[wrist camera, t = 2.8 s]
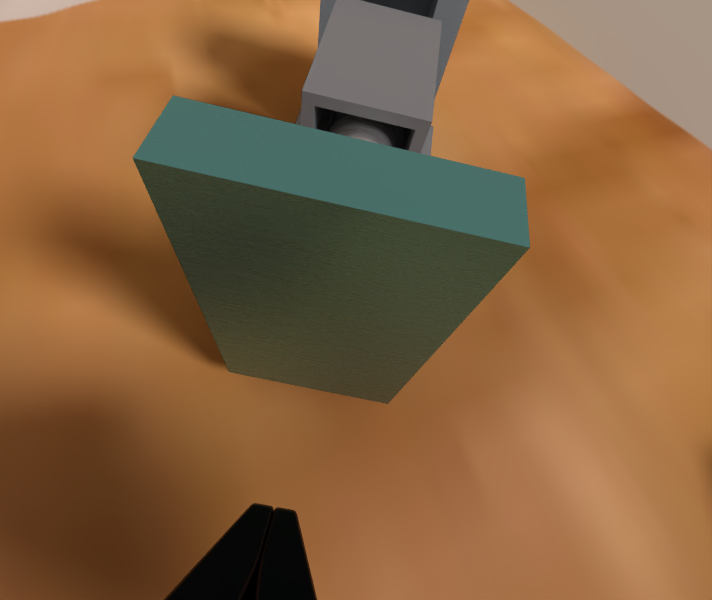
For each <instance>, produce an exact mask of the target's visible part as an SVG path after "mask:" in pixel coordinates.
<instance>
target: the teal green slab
mask: <svg viewBox="0 0 712 600" xmlns="http://www.w3.org/2000/svg"><path fill="white" fill-rule="evenodd" d="M397 131H398V126H397V125H393V124H388V123H384V122H380V121H376V120H372V119H367V118H363V117H359V116H355V115H351V114H346V113H342V112H338V111H335V112H334V116H333V119H332V122H331V126H330V129H329V132H327V131H322V130H318V129H314V128H310V127H305V126H301V125H297V124H293V123H288V122H284V121H280V120H276V119H271V118H267V117H263V116H259V115H254V114H250V113H246V112H242V111H237V110H233V109H229V108H225V107H220V106H216V105H212V104H208V103H203V102H199V101H195V100H190V99H186V98H182V97H178V96H172V98H171V99H170V101H169V102H168V104H167V106H166V107H165V109H164V110H163V112H162V113H161V115H160V116H159V118H158V119H157V121H156V123H155V124H154V126H153V127H152V129H151V130H150V132H149V133H148V135H147V137H146V138H145V140H144V141H143V143H142V144H141V146H140V147H139V149H138V151H137V152H136V154H135V155H134V157H133V160H134V162H135V164H136V166H137V169H138V171H139V173H140V175H141V178H142V180H143V182H144V184H145V186H146V189H147V191H148V193H149V195H150V198H151V200H152V202H153V204H154V206H155V209H156V211H157V213H158V215H159V218H160V220H161V222H162V224H163V226H164V229H165V231H166V233H167V235H168V237H169V240H170V242H171V244H172V246H173V249H174V251H175V253H176V255H177V257H178V260H179V262H180V264H181V266H182V269H183V271H184V273H185V275H186V277H187V280H188V282H189V284H190V286H191V289H192V291H193V293H194V295H195V297H196V300H197V302H198V304H199V306H200V308H201V311H202V313H203V315H204V317H205V320H206V322H207V324H208V326H209V328H210V331H211V333H212V335H213V337H214V340H215V342H216V344H217V346H218V348H219V351H220V353H221V355H222V357H223V360H224V362H225V364H226V366H227V368H228V371H229V372H232V373H237V374H242V375H247V376H252V377H257V378H262V379H267V380H272V381H277V382H282V383H287V384H292V385H297V386H302V387H307V388H312V389H317V390H322V391H326V392H331V393H336V394H341V395H346V396H351V397H356V398H361V399H366V400H371V401H376V402H381V403H386V404H388V403H389V402H390V401H391V400H392V399H393V398H394V396H395V395H396V394H397V393H398V392H399V391H400V390H401V389H402V388H403V387H404V385H405V384H406V383H407V382H408V381H409V380H410V379H411V378H412V377H413V376H414V374H415V373H416V372H417V371H418V370H419V369H420V368H421V367H422V366H423V365H424V363H425V362H426V361H427V360H428V359H429V358H430V357H431V356H432V355H433V354H434V352H435V351H436V350H437V349H438V348H439V347H440V346H441V345H442V344H443V343H444V342H445V340H446V339H447V338H448V337H449V336H450V335H451V334H452V333H453V332H454V331H455V329H456V328H457V327H458V326H459V325H460V324H461V323H462V322H463V321H464V320H465V318H466V317H467V316H468V315H469V314H470V313H471V312H472V311H473V310H474V309H475V307H476V306H477V305H478V304H479V303H480V302H481V301H482V300H483V299H484V298H485V296H486V295H487V294H488V293H489V292H490V291H491V290H492V289H493V288H494V287H495V285H496V284H497V283H498V282H499V281H500V280H501V279H502V278H503V277H504V276H505V275H506V273H507V272H508V271H509V270H510V269H511V268H512V267H513V266H514V265H515V264H516V262H517V261H518V260H519V259H520V258H521V257H522V256H523V255H524V254H525V253H526V251H527V250H528V249H529V248H530V242H529V228H528V215H527V202H526V189H525V178H523V177H518V176H514V175H510V174H506V173H501V172H497V171H493V170H489V169H484V168H480V167H476V166H471V165H467V164H463V163H459V162H454V161H450V160H446V159H442V158H437V157H433V156H429V155H425V154H420V153H416V152H412V151H408V150H403V149H399V148H395V143H396V137H397Z"/></svg>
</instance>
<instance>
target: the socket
mask: <svg viewBox="0 0 712 600" xmlns="http://www.w3.org/2000/svg"><path fill="white" fill-rule="evenodd" d="M361 1H365V2H369V3H373V4H377V5H381V6H385V7H389V8H393V9H397V10H401V11H405V12H409V13H413V14H417V15H421V16H425V17H428V18H432V19H436V20H440V21H442V27H441V37H440V47H439V57H438V67H437V77H436V87H435V96H436V93H437V91H438V88H439V85H440V82H441V79H442V76H443V73H444V71H445V68H446V65H447V62H448V59H449V56H450V53H451V50H452V48H453V45H454V42H455V39H456V36H457V33H458V30H459V28H460V25H461V22H462V19H463V16H464V13H465V10H466V7H467V5H468V2H469V0H361ZM335 2H336V0H321V3H320V21H319V38H318V47H319V44H320V42H321V39H322V36H323V34H324V31H325V28H326V26H327V23H328V21H329V18H330V15H331V13H332V10H333V7H334V5H335ZM434 99H435V97H434Z"/></svg>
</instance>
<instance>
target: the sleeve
mask: <svg viewBox="0 0 712 600" xmlns="http://www.w3.org/2000/svg"><path fill="white" fill-rule="evenodd" d="M441 27H442V21H440V20H436V19H432V18H428V17H425V16H421V15H417V14H413V13H409V12H405V11H401V10H397V9H393V8H389V7H385V6H381V5H377V4H373V3H369V2H365V1H361V0H336V2H335V5H334V7H333V10H332V13H331V15H330V18H329V21H328V23H327V26H326V28H325V31H324V34H323V36H322V39H321V42H320V44H319V47H318V50H317V52H316V55H315V57H314V60H313V63H312V65H311V68H310V71H309V73H308V76H307V78H306V81H305V84H304V86H303V89H302V106H301V110H300V112H299V115H298V118H297V120H296V123H295V124H297V125H301V126H305V127H310V128H314V129H318V130H322V131H327V132H329V129H330V126H331V122H332V119H333V116H334V112H335V111H338V112H342V113H346V114H351V115H355V116H359V117H363V118H367V119H372V120H376V121H380V122H384V123H388V124H393V125H397V126H398V131H397V137H396V143H395V148H399V149H403V150H408V151H412V152H416V153H420V154H425V155H429V156H430V155H431V144H432V134H433V126H431V123H432V117H433V107H434V97H435V87H436V77H437V67H438V57H439V47H440V37H441Z"/></svg>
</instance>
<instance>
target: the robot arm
mask: <svg viewBox="0 0 712 600" xmlns="http://www.w3.org/2000/svg"><path fill="white" fill-rule="evenodd" d="M164 600H317V597H316V593H315V589H314V585H313V580H312V576H311V572H310V568H309V563H308V559H307V555H306V551H305V546H304V542H303V538H302V534H301V529H300V525H299V521H298V517H297V513H296V512H295V511H294V510H290V509H285V508H279V507H277V508H275V510H274V509H273V507H272V506H268V505H263V504H257V503H254V504H252V505H251V506H250V507H249V508H248V509H247V510H246V511H245V512H244V513H243V514H242V515H241V516H240V517H239V519H238V520H237V521H236V522H235V523H234V524H233V525H232V526H231V527H230V528H229V529H228V531H227V532H226V533H225V534H224V535H223V536H222V537H221V538H220V539H219V540H218V541H217V543H216V544H215V545H214V546H213V547H212V548H211V549H210V550H209V551H208V552H207V553H206V554H205V556H204V557H203V558H202V559H201V560H200V561H199V562H198V563H197V564H196V565H195V566H194V568H193V569H192V570H191V571H190V572H189V573H188V574H187V575H186V576H185V577H184V578H183V579H182V581H181V582H180V583H179V584H178V585H177V586H176V587H175V588H174V589H173V590H172V591H171V593H170V594H169V595H168V596H167V597H166V598H165V599H164Z"/></svg>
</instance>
